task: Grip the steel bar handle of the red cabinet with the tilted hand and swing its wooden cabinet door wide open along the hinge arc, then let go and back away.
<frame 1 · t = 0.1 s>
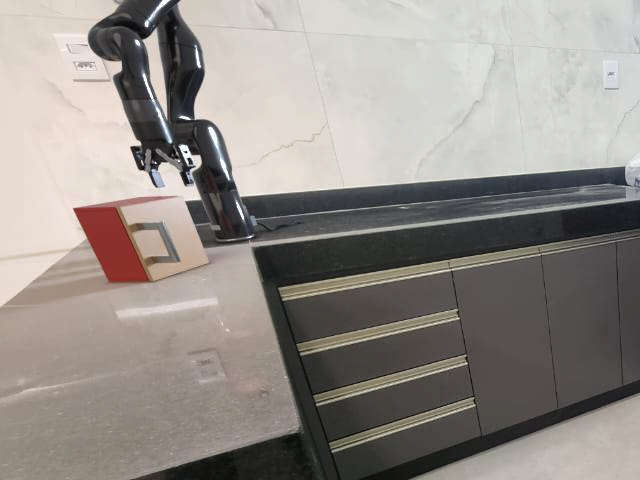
hand: (174, 186, 140), 17 cm above the counter, tool pointing down, fingers open, 8 cm apart
wooden cabinet door: (178, 237, 122), point 8 cm above the counter, hinge at 0.0°
red cabinet: (159, 272, 127), on the counter
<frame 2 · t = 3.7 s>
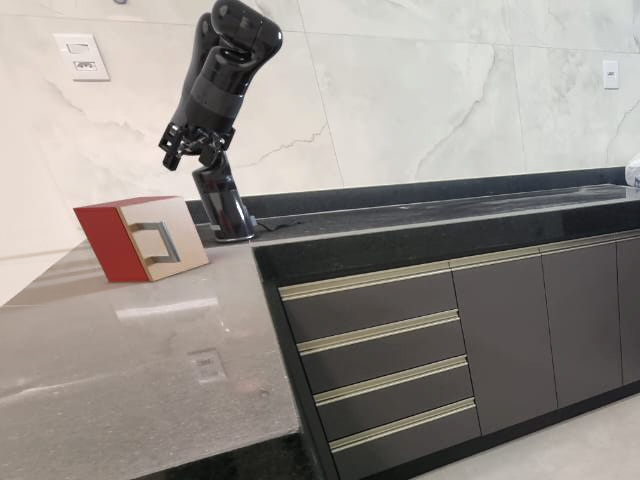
hand: (186, 166, 109), 24 cm above the counter, tool tilted 45°, fingers open, 8 cm apart
nothing on the counter moved.
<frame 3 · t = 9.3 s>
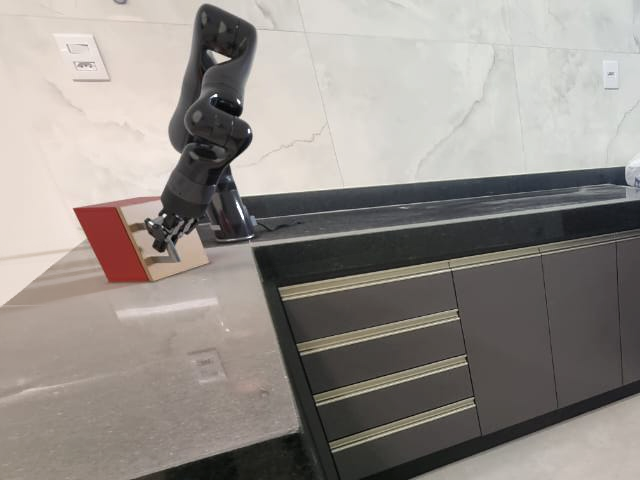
hand: (162, 248, 118), 7 cm above the counter, tool tilted 45°, fingers closed on wooden cabinet door
wooden cabinet door: (178, 237, 122), point 8 cm above the counter, hinge at 0.0°, touching gripper
everything else where it was.
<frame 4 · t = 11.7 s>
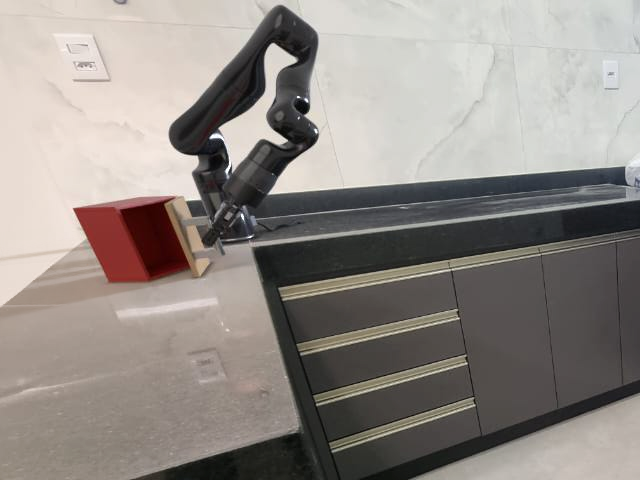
hand: (206, 243, 121), 7 cm above the counter, tool tilted 45°, fingers closed on wooden cabinet door
wooden cabinet door: (204, 233, 125), point 8 cm above the counter, hinge at 34.4°, touching gripper
everything else where it was.
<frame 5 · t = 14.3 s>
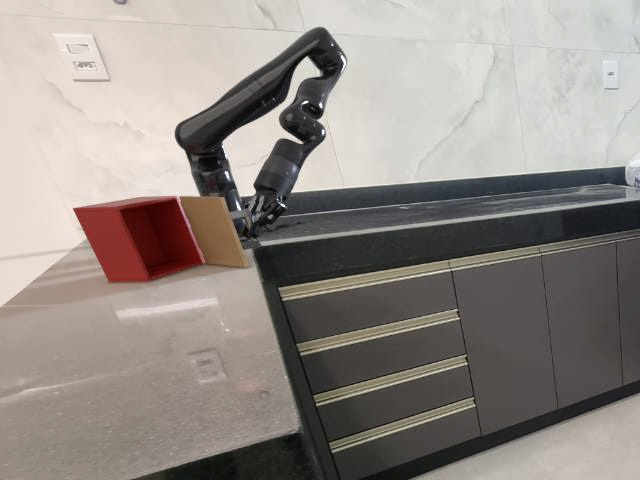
hand: (248, 236, 129), 6 cm above the counter, tool tilted 45°, fingers closed
wooden cabinet door: (226, 229, 129), point 8 cm above the counter, hinge at 71.5°
everything else where it was.
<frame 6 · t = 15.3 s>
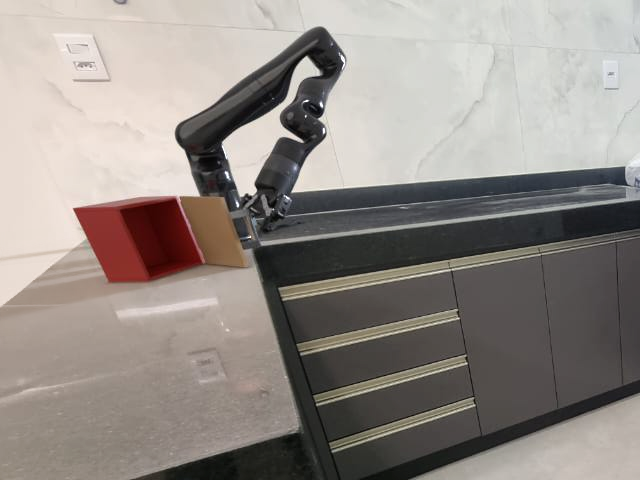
hand: (251, 231, 129), 7 cm above the counter, tool tilted 45°, fingers open, 8 cm apart
nothing on the counter moved.
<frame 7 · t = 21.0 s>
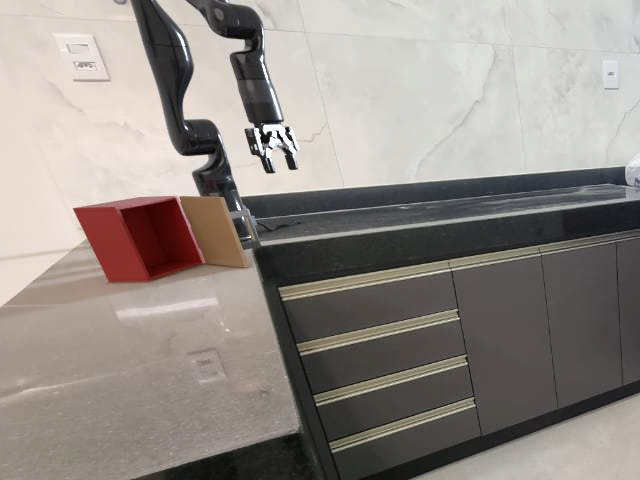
hand: (282, 171, 135), 20 cm above the counter, tool pointing down, fingers open, 8 cm apart
nothing on the counter moved.
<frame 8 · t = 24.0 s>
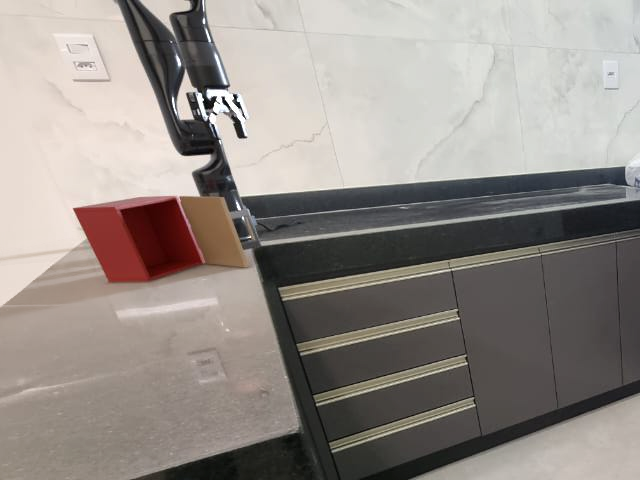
hand: (230, 139, 131), 28 cm above the counter, tool pointing down, fingers open, 8 cm apart
nothing on the counter moved.
at the end: wooden cabinet door at +72° (first picture: +0°); the gripper is holding nothing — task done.
